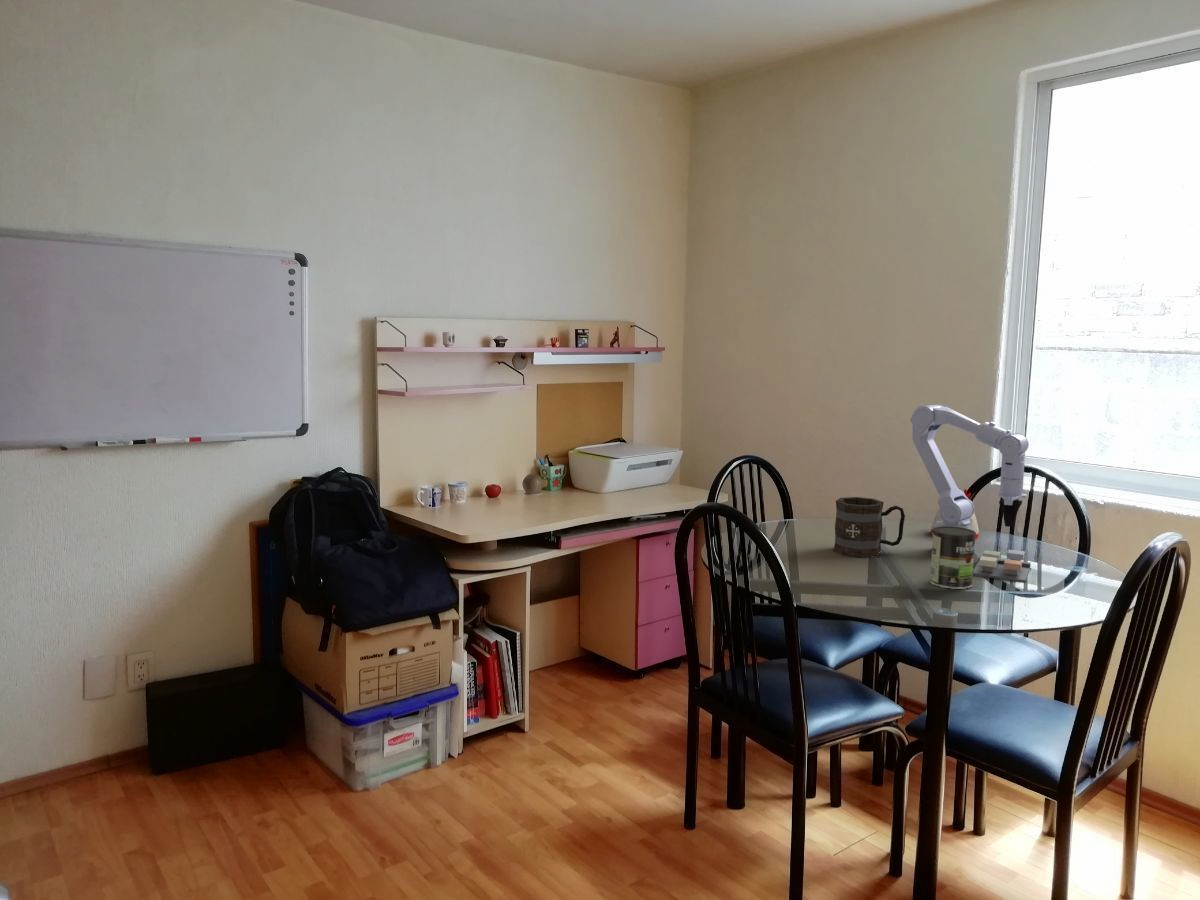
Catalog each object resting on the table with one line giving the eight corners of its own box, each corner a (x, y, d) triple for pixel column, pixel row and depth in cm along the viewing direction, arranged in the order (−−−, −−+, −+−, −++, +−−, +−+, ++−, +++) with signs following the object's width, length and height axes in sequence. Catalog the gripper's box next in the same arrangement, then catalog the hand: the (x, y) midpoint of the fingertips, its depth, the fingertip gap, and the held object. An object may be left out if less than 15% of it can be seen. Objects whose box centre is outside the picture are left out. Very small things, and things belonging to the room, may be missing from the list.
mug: (836, 557, 258) (838, 505, 256) (830, 545, 271) (832, 496, 269) (907, 559, 255) (910, 507, 253) (898, 547, 269) (900, 498, 266)
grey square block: (1006, 564, 244) (1007, 552, 244) (1007, 560, 247) (1008, 549, 247) (1022, 566, 242) (1023, 554, 242) (1024, 562, 245) (1024, 551, 245)
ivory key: (978, 571, 241) (979, 559, 241) (980, 567, 244) (981, 556, 244) (995, 573, 239) (995, 561, 239) (996, 569, 243) (997, 558, 242)
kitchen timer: (985, 540, 277) (988, 492, 274) (940, 540, 277) (943, 492, 274) (967, 530, 290) (970, 484, 288) (924, 530, 290) (927, 484, 288)
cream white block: (982, 564, 247) (983, 553, 247) (984, 561, 251) (984, 550, 250) (998, 566, 245) (998, 555, 245) (999, 563, 249) (1000, 552, 248)
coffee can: (981, 586, 230) (985, 532, 228) (952, 592, 226) (956, 537, 223) (949, 576, 239) (952, 524, 237) (920, 581, 235) (923, 528, 233)
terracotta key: (1003, 574, 238) (1004, 562, 238) (1004, 570, 242) (1005, 559, 241) (1019, 576, 236) (1020, 564, 236) (1021, 572, 240) (1022, 561, 239)
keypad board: (971, 575, 240) (971, 569, 240) (979, 561, 253) (979, 556, 253) (1025, 582, 234) (1025, 576, 234) (1030, 568, 247) (1030, 562, 246)
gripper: (1025, 483, 241) (1022, 533, 242) (1030, 475, 253) (1027, 522, 255) (996, 481, 244) (994, 530, 246) (1002, 473, 256) (1000, 520, 258)
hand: (1009, 526), depth 251 cm, fingers closed
